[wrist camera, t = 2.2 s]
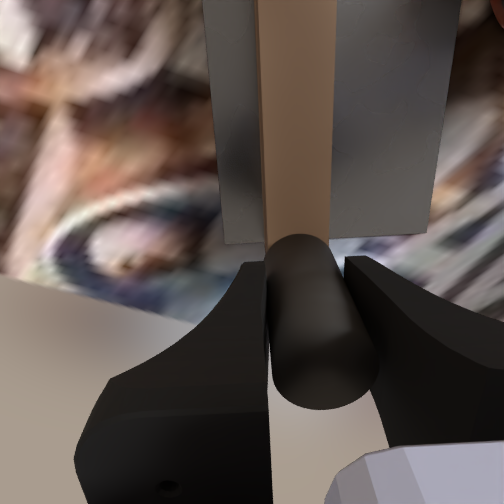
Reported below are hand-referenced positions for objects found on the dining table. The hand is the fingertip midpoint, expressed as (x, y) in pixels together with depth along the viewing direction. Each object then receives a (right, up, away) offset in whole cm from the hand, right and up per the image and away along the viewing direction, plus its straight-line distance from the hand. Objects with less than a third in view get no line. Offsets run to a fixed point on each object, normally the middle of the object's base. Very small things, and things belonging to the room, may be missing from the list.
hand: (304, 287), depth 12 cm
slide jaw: (0, +7, +2) cm, 8 cm away
